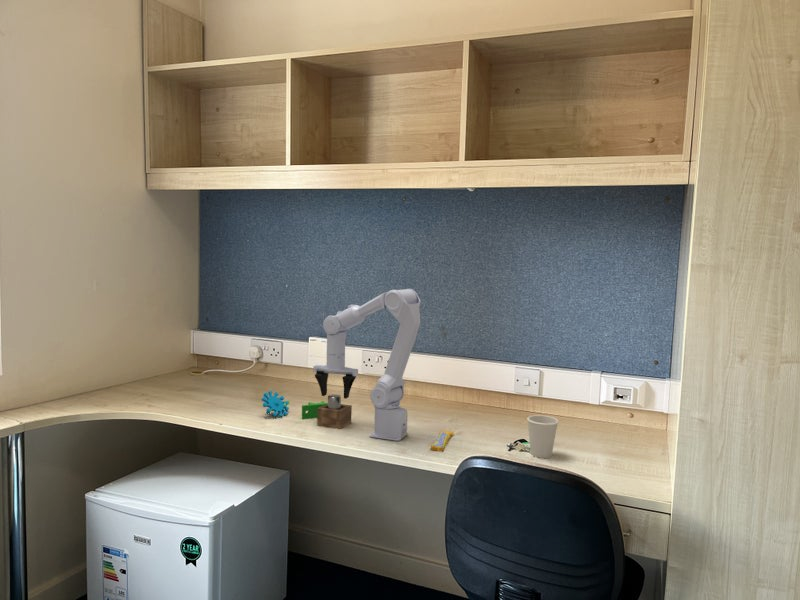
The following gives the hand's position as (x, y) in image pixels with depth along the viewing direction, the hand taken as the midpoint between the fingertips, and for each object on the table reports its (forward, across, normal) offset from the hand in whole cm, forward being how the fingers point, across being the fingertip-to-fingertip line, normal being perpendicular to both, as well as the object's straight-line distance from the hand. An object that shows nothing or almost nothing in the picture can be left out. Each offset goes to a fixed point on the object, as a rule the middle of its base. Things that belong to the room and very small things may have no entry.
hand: (335, 396), depth 189 cm
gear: (+9, +22, -1) cm, 24 cm away
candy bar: (+10, -36, +3) cm, 37 cm away
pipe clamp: (+9, +9, -6) cm, 14 cm away
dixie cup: (+9, -64, +2) cm, 65 cm away
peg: (+8, 0, 0) cm, 8 cm away
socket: (+9, 0, 0) cm, 9 cm away
